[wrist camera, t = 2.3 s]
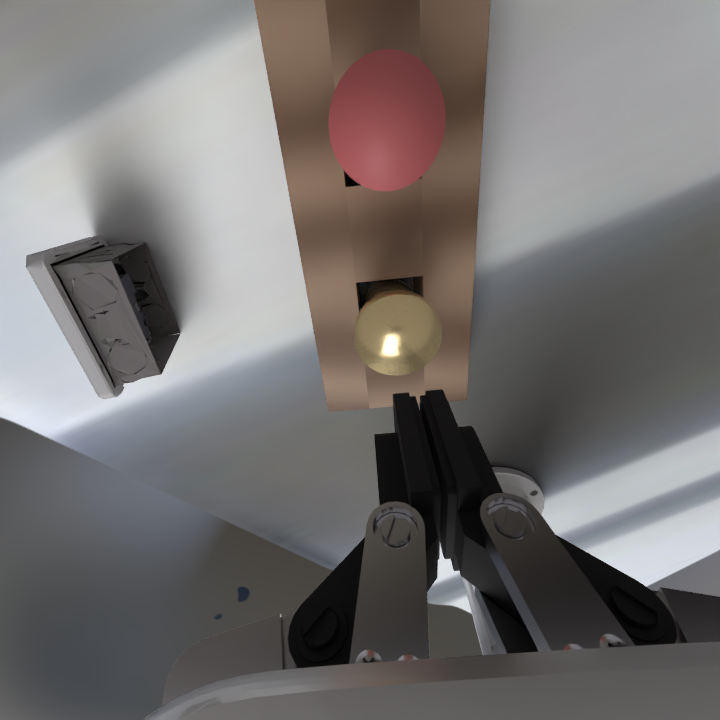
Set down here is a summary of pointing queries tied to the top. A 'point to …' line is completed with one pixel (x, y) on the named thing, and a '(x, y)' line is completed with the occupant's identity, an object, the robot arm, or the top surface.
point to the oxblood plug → (387, 120)
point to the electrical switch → (107, 309)
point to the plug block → (380, 208)
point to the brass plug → (396, 329)
